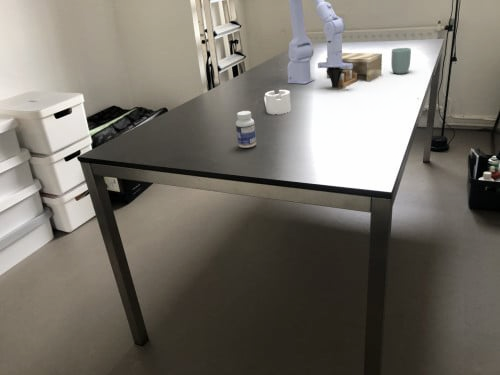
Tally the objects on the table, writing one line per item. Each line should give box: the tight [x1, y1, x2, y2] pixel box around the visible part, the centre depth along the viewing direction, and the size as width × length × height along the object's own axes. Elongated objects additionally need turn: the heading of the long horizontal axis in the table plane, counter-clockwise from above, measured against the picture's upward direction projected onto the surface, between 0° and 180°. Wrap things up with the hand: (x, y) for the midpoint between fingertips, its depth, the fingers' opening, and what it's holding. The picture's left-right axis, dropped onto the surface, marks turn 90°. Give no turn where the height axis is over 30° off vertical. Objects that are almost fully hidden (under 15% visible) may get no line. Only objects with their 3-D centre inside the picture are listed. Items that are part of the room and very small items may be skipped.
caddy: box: [331, 70, 358, 89], centre depth 183 cm, size 5×12×6 cm, turn 140°
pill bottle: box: [235, 110, 257, 148], centre depth 128 cm, size 5×5×10 cm
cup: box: [390, 47, 412, 75], centre depth 190 cm, size 8×8×10 cm
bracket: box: [263, 89, 292, 115], centre depth 163 cm, size 20×9×7 cm, turn 2°
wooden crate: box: [325, 52, 383, 83], centre depth 192 cm, size 20×12×9 cm, turn 51°
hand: (335, 86), depth 179 cm, fingers closed, pressing on caddy
